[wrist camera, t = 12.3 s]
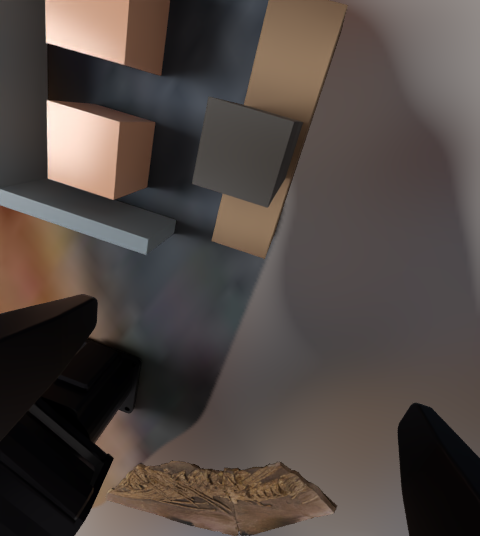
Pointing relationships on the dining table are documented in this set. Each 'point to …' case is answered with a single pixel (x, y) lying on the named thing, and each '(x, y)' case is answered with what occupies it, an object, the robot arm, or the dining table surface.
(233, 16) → the dining table surface
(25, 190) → the box
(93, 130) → the block
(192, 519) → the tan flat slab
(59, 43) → the block
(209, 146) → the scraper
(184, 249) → the dining table surface
